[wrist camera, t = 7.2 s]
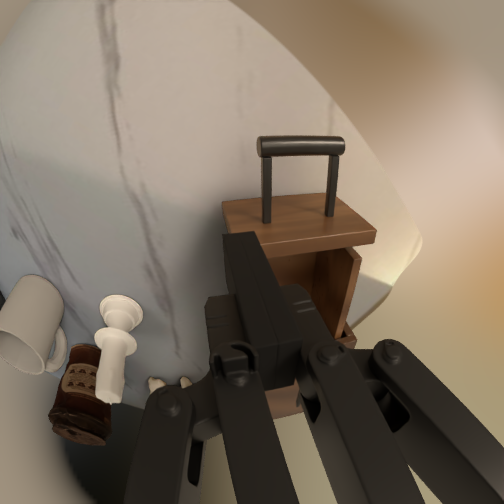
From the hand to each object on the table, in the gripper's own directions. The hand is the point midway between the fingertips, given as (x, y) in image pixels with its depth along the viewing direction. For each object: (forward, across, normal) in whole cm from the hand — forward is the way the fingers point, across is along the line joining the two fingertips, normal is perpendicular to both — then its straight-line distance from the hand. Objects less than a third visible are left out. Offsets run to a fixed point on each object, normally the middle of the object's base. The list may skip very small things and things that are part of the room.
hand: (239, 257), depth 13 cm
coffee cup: (+12, -20, -22) cm, 32 cm away
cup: (+12, -22, -12) cm, 28 cm away
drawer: (+11, +5, -5) cm, 13 cm away
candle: (+12, -12, -14) cm, 22 cm away
